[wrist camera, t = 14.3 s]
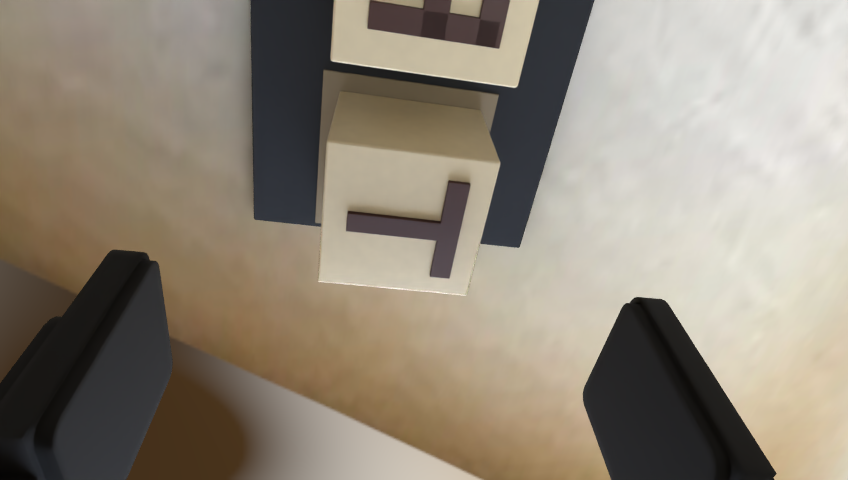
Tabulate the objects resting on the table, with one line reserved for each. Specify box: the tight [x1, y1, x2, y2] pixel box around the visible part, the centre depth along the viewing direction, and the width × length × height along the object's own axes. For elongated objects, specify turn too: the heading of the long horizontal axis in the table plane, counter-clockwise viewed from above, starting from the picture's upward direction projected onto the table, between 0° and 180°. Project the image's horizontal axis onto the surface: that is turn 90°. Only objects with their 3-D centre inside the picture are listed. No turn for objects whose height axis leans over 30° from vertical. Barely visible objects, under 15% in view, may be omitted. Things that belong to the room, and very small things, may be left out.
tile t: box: [318, 91, 500, 295], centre depth 17 cm, size 5×5×4 cm
